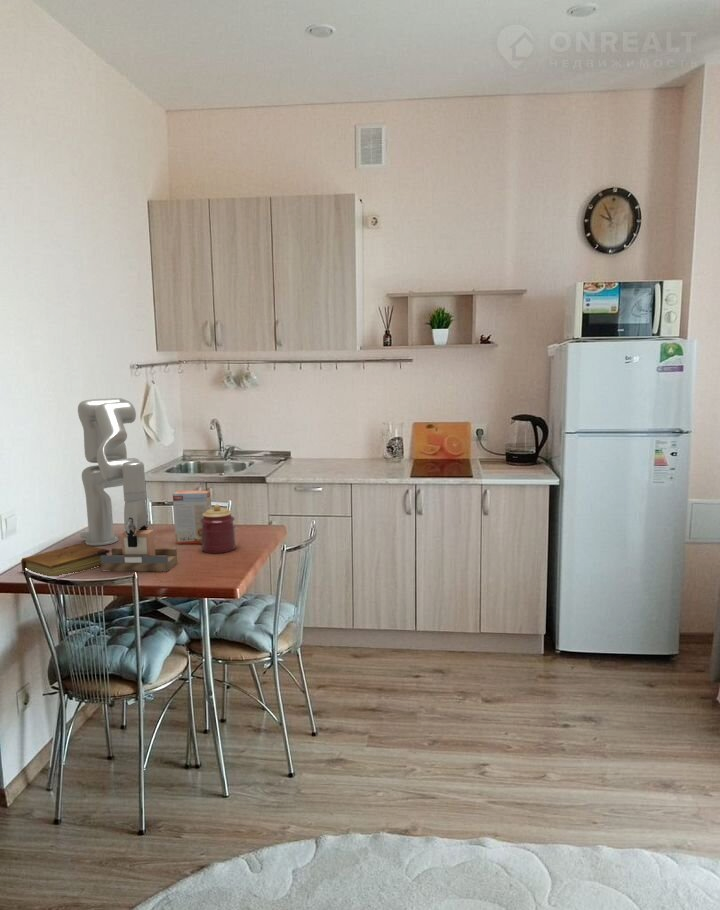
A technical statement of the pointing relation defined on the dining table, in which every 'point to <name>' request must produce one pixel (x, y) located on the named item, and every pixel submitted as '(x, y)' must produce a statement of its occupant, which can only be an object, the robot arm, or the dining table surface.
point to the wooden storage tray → (140, 561)
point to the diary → (65, 560)
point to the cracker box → (190, 515)
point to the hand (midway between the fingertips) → (138, 543)
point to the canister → (218, 530)
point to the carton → (139, 543)
